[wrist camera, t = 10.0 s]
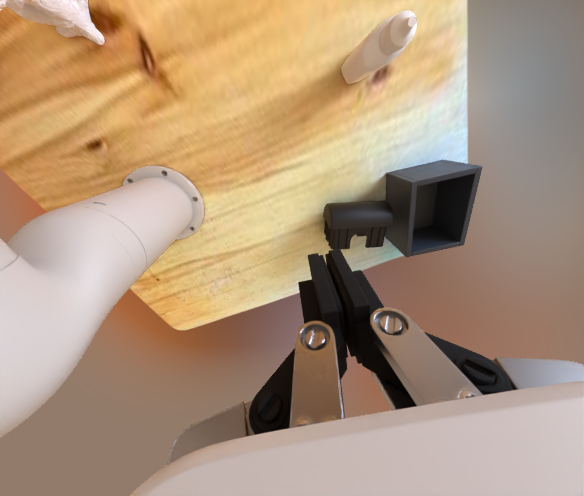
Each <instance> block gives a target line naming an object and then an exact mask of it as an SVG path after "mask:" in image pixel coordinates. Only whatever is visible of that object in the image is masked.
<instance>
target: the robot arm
mask: <svg viewBox="0 0 584 496" xmlns="http://www.w3.org/2000/svg"><path fill="white" fill-rule="evenodd" d="M165 171H166V172H167V174H166V173H165ZM195 197H197V199H196V198H195ZM203 219H204V204H203V200H202V198H201V195H200V193H199V192H198V190H197V188H196V187H195V186H194V185H193V184H192V182H191V181H190V180H188V179H187V178H186V177H185V176H184V175H182V174H180V173H179V172H177V171H175V170H173V169H170V168H167V167H163V166H155V165H151V166H144V167H141V168H138V169H136V170H134V171H132V172H131V173H130V174H129V175H128V176H127V177H126V178H125V180H124V181H123V184H122V187H119V188H116V189H113V190H110V191H108V192H105V193H102V194H99V195H96V196H93V197H90V198H87V199H85V200H82V201H79V202H76V203H73V204H70V205H67V206H65V207H62V208H58V209H55V210H52V211H50V212H47V213H44V214H42V215H40V216H38V217H36V218H35V219H33V220H32V221H30V222H28V223H27V224H25V225H24V226H23V227H22V228H21V229H20V230H19V231H17V232H16V233H15V234H14V235H13V237H12V238H11V239H10V241H9V242H8V243H7V244H5V243H4V242H3V241H2V240H1V239H0V437H2V436H4V435H5V434H6V433H8V432H9V431H11V430H12V429H14V428H15V427H17V426H18V425H19V424H21V423H22V422H23V421H24V420H26V419H27V418H28V417H29V416H30V415H32V414H33V413H34V412H35V411H36V410H37V409H39V408H40V407H41V406H42V405H43V404H44V403H45V402H46V401H47V400H48V399H49V398H50V397H51V395H53V394H54V393H55V392H56V391H57V389H58V388H59V387H60V386H61V385H62V384H63V382H64V381H65V380H66V378H67V377H68V376H69V375H70V373H71V372H72V371H73V369H74V368H75V367H76V365H77V364H78V362H79V361H80V358H81V357H82V356H83V354H84V353H85V351H86V349H87V348H88V346H89V344H90V343H91V341H92V339H93V337H94V335H95V334H96V332H97V330H98V329H99V327H100V325H101V324H102V322H103V321H104V319H105V318H106V316H107V315H108V314H109V312H110V311H111V309H112V308H113V307H114V306H115V304H116V303H117V302H118V301H119V299H120V298H121V297H122V296H123V295H124V294H125V293H126V291H127V290H128V289H129V288H130V287H131V286H132V285H133V284H134V283H135V282H136V281H137V279H138V278H139V277H140V276H141V275H142V274H143V273H144V272H145V271H146V270H147V269H148V268H149V267H150V266H151V265H152V264H153V263H154V262H155V261H156V260H157V259H158V257H159V256H160V255H161V254H162V253H163V252H164V251H165V250H166V249H167V248H168V247H169V246H170V245H171V244H172V243H173V241H174V240H181V239H184V238H187V237H189V236H191V235H193V234H194V233H195V232H196V231H197V230H198V228H199V227H200V226H201V224H202V222H203ZM193 227H194V228H193ZM325 256H326V263H325V260H324V258H323V255H320V256H319V255H318V253H316V254H311V255H308V260H309V265H310V271H311V276H312V280H307V281H302V282H298V283H299V290H300V297H301V304H302V310H303V317H304V325H303V326H301V327H300V329H299V330H298V332H297V335H296V344H295V348H294V350H293V351H292V352H291V353H290V355H289V356H288V357H287V358H286V359H285V361H284V362H283V363H282V364H281V365H280V367H279V368H278V369H277V370H276V372H275V373H274V374H273V375H272V376H271V377H270V379H269V380H268V381H267V382H266V384H265V385H264V386H263V387H262V389H261V390H260V391H259V392H258V393H257V395H256V396H255V398H254V399H253V400H252V401H250V402H248V403H246V404H244V402H241V403H239V404H237V405H235V406H233V407H230V408H228V409H226V410H224V411H221V412H219V413H217V414H215V415H213V416H211V417H208V418H206V419H204V420H202V421H199V422H197V423H195V424H193V425H191V426H189V427H188V428H186V429H185V430H184V431H183V432H182V433H181V434H180V435H179V436H178V437H177V439H176V441H175V442H174V444H173V446H172V448H171V452H170V455H169V458H168V464H167V466H165V467H164V468H162V469H161V470H160V471H158V472H157V473H155V475H153V476H151V477H150V478H149V479H148V480H146V481H145V482H144V483H143V484H142V485H141V486H139V487H138V488H137V489H136V490H135V491H134V492H133V493H132V494H131V495H130V496H584V365H582V364H579V363H576V362H571V361H566V360H547V359H526V358H504V357H496V358H495V360H490V359H488V358H486V357H484V356H482V355H480V354H477V353H475V352H472V351H470V350H467V349H465V348H463V347H460V346H457V345H455V344H453V343H450V342H448V341H445V340H443V339H440V338H438V337H435V336H433V335H430V334H428V333H425V332H423V331H422V330H421V329H420V328H419V327H418V326H417V325H416V324H415V323H414V321H413V320H412V319H411V318H410V317H409V316H408V315H406V314H405V313H404V312H402V311H400V310H398V309H394V308H387V307H385V308H384V306H383V305H382V303H381V301H380V300H379V298H378V297H377V295H376V293H375V292H374V291H373V288H372V287H371V285H370V284H369V282H368V280H367V279H366V277H365V275H364V274H363V272H362V271H361V270H358V271H353V272H352V270H351V269H350V267H349V265H348V263H347V261H346V259H345V258H344V256H343V254H342V252H341V250H340V249H336V250H331V251H329V254H326V255H325ZM326 264H327V265H326ZM346 343H347V344H346ZM347 346H348V349H349V352H350V355H351V356H356V359H357V362H358V363H362V365H363V366H364V367H366V368H367V369H369V370H371V374H372V376H373V378H374V380H375V382H376V383H377V385H378V387H379V389H380V390H381V392H382V394H383V396H384V398H385V400H386V402H387V403H388V405H389V407H390V409H391V411H387V412H381V413H375V414H369V415H363V416H358V417H351V418H346V419H345V412H344V403H343V395H342V387H341V378H342V377H343V375H344V373H345V372H346V370H347V362H346V358H347V357H348V354H347Z"/></svg>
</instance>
